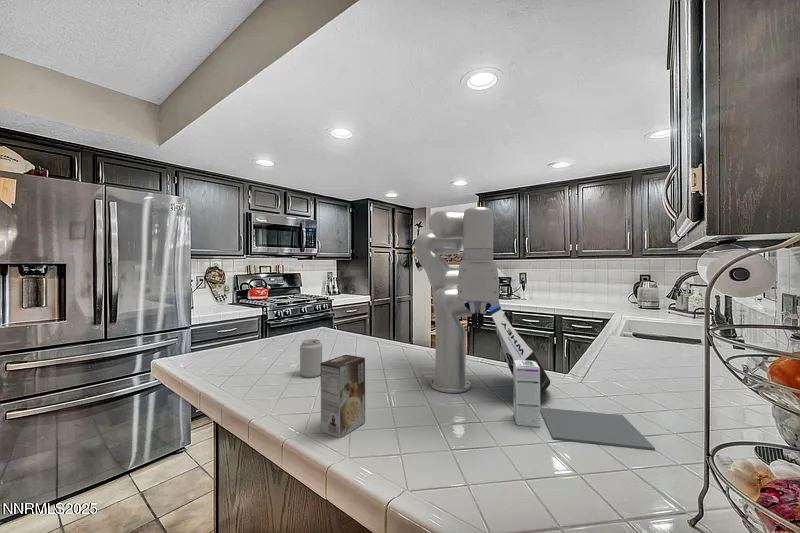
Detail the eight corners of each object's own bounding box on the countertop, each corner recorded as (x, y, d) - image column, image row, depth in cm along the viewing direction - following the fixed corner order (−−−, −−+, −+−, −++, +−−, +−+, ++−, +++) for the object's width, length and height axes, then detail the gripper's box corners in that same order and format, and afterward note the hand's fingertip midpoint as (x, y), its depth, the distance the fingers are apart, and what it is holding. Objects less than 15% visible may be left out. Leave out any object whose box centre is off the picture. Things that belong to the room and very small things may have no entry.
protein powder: (550, 371, 111) (506, 289, 118) (551, 393, 89) (497, 290, 96) (522, 381, 114) (482, 300, 121) (517, 405, 92) (467, 304, 99)
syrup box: (541, 427, 81) (541, 367, 81) (515, 425, 82) (515, 365, 82) (536, 417, 87) (536, 360, 86) (512, 414, 88) (512, 358, 88)
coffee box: (345, 416, 86) (346, 353, 86) (366, 422, 83) (366, 357, 83) (319, 431, 79) (319, 362, 78) (340, 439, 75) (340, 366, 75)
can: (326, 373, 119) (326, 339, 119) (310, 380, 113) (310, 344, 113) (311, 370, 123) (311, 337, 123) (295, 375, 117) (295, 341, 117)
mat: (552, 439, 76) (552, 437, 76) (539, 409, 91) (539, 407, 91) (654, 450, 71) (655, 447, 71) (622, 416, 87) (622, 414, 87)
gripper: (447, 256, 84) (446, 330, 84) (510, 256, 81) (509, 332, 81) (449, 257, 92) (449, 325, 92) (507, 257, 89) (506, 327, 89)
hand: (477, 328), depth 87 cm, fingers closed
